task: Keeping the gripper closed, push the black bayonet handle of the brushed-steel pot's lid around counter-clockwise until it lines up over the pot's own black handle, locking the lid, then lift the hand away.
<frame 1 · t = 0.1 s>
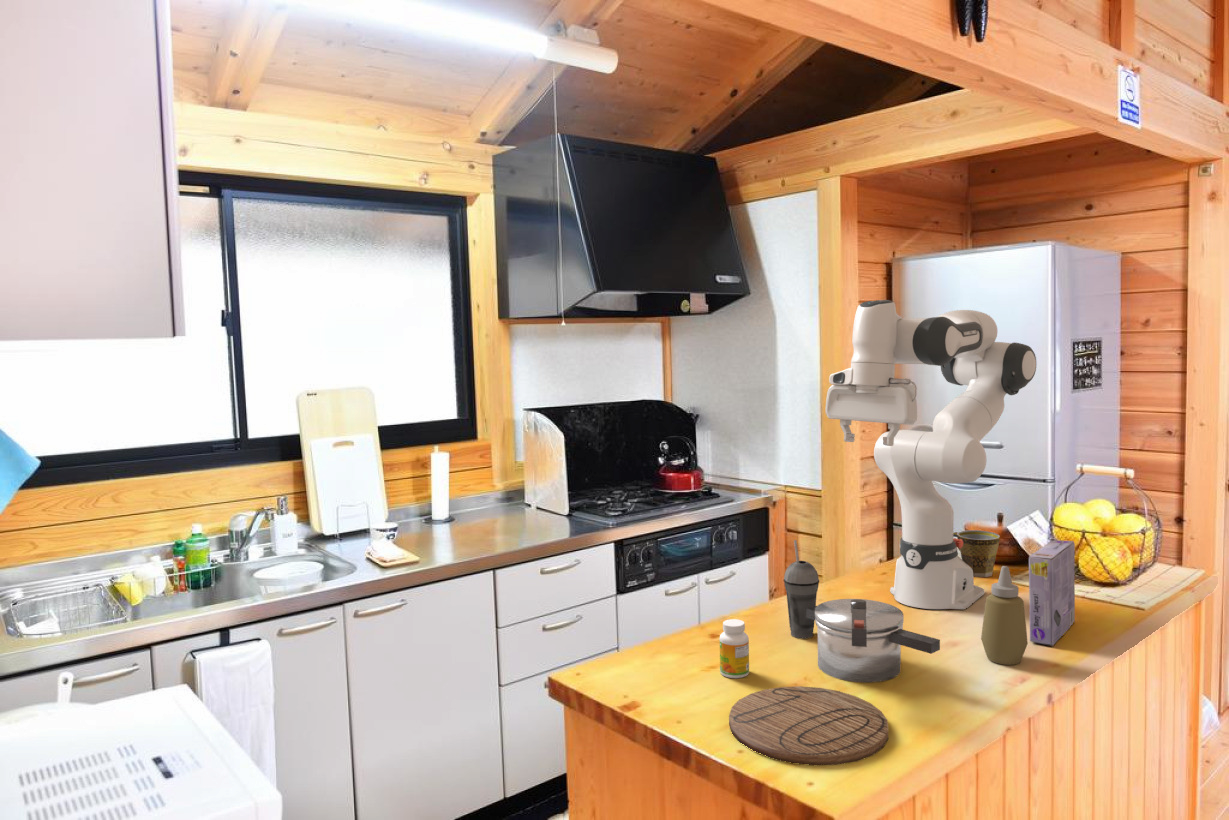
hand: (868, 443, 187), 39 cm above the worktop, tool pointing down, fingers open, 8 cm apart
trivet: (807, 730, 144), on the worktop
pot: (858, 666, 168), on the worktop
beverage cup: (801, 635, 186), on the worktop
ceramic cup: (972, 573, 226), on the worktop
cake pan box: (1052, 632, 183), on the worktop
lid: (858, 614, 162), point 12 cm above the worktop, hinge at -55.0°
supplement bottle: (734, 674, 167), on the worktop
squeeze bottle: (1003, 660, 169), on the worktop
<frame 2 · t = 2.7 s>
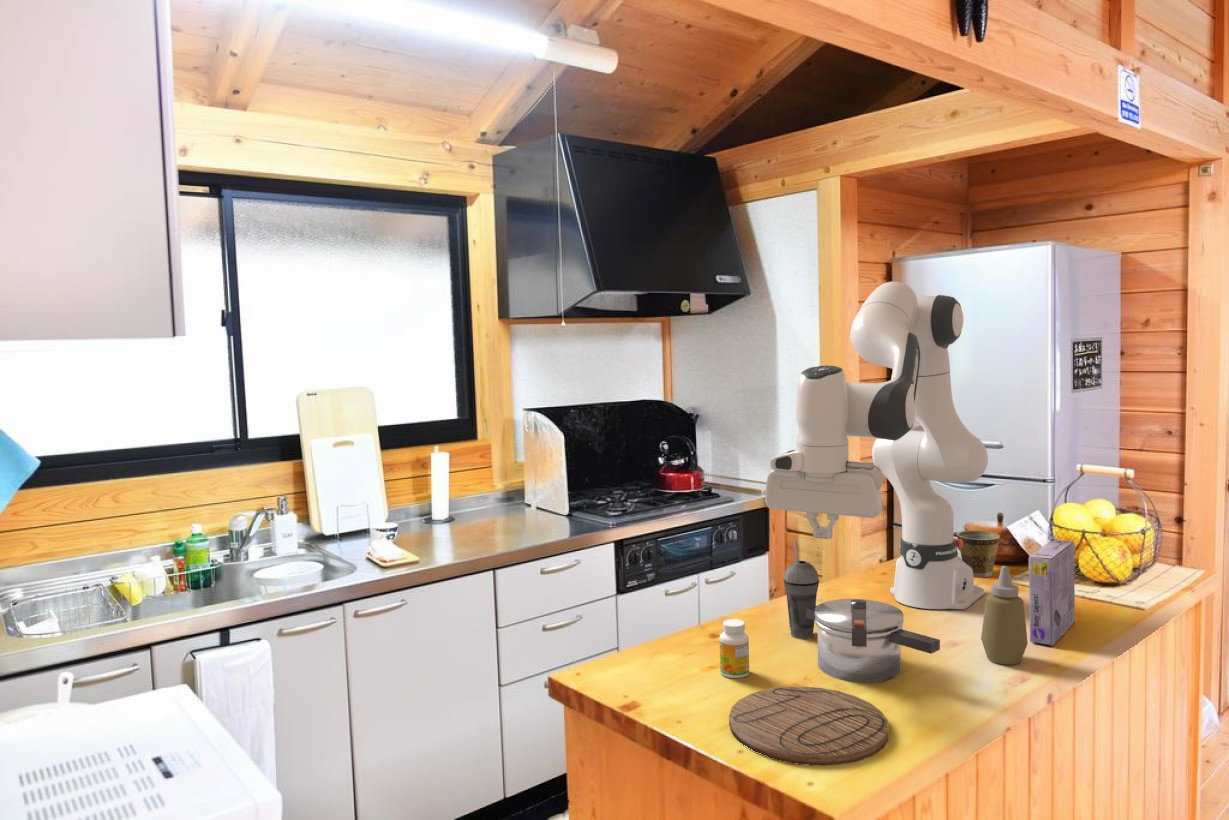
hand: (822, 537, 157), 27 cm above the worktop, tool pointing down, fingers closed
nothing on the worktop moved.
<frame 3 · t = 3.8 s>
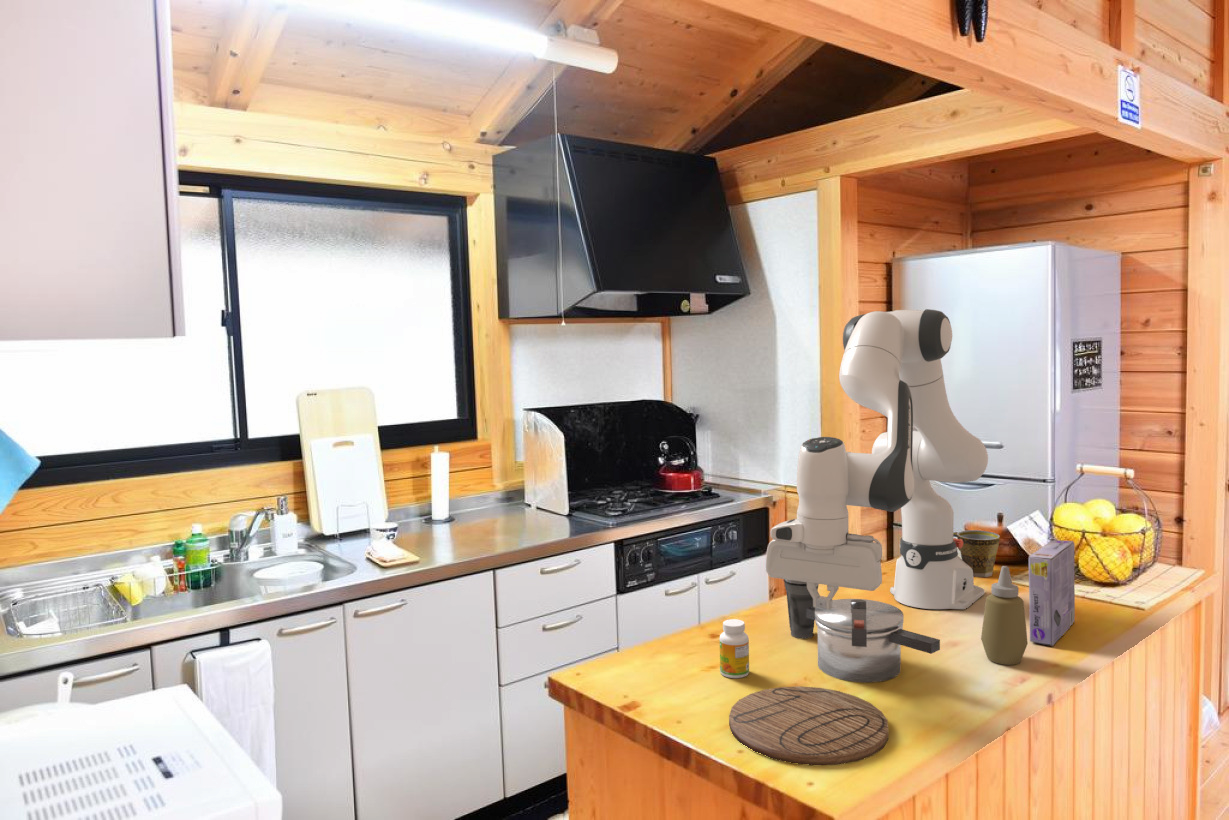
hand: (822, 607, 158), 14 cm above the worktop, tool pointing down, fingers closed
nothing on the worktop moved.
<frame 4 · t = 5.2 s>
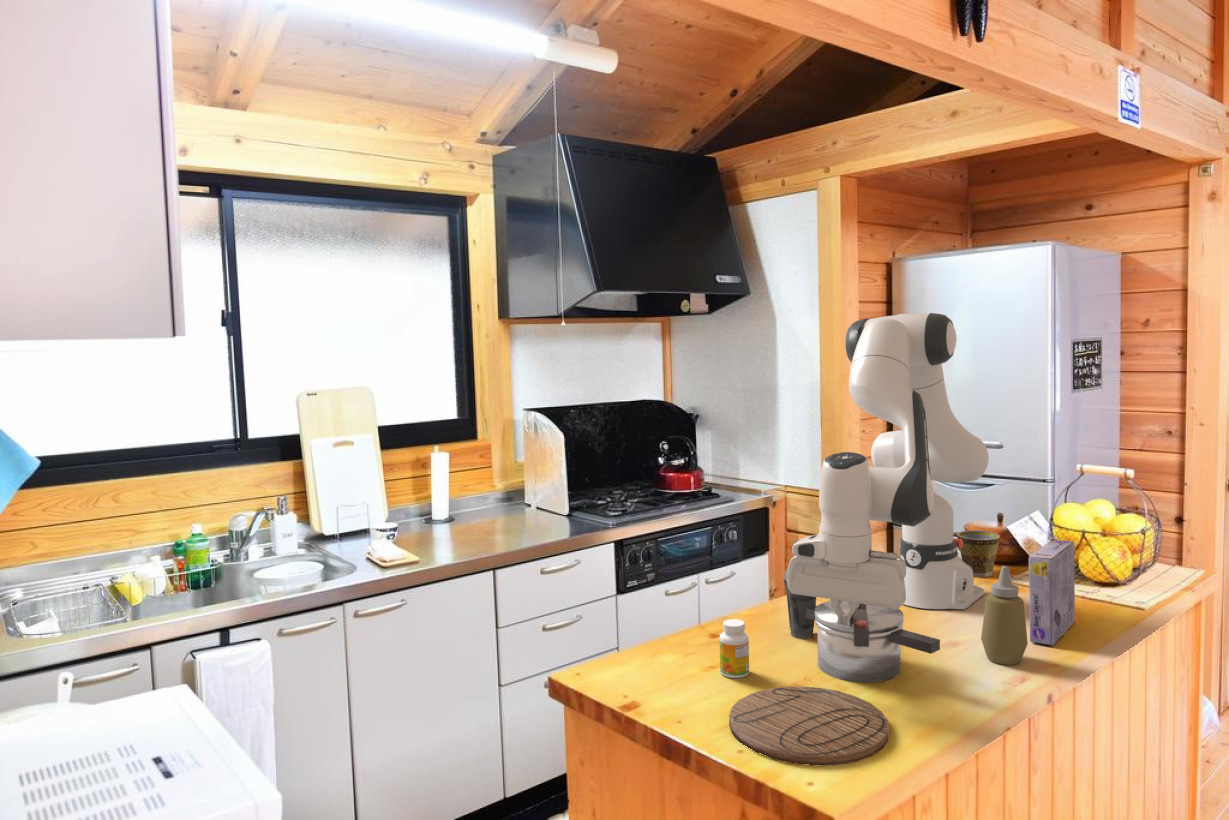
hand: (845, 624, 157), 12 cm above the worktop, tool pointing down, fingers closed
lid: (859, 614, 162), point 12 cm above the worktop, hinge at -53.8°, touching gripper
everything else where it was.
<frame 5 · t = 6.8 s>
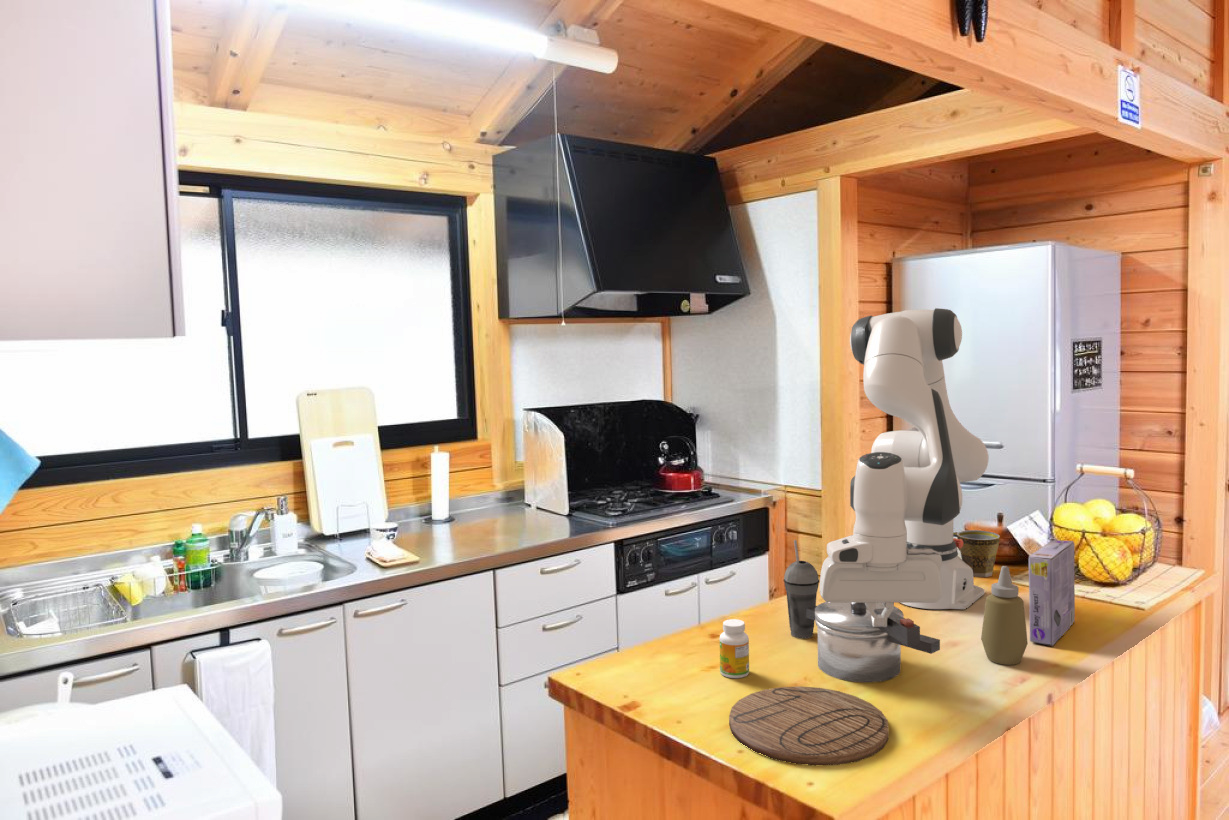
hand: (879, 626, 155), 12 cm above the worktop, tool pointing down, fingers closed
lid: (872, 614, 162), point 12 cm above the worktop, hinge at -25.7°, touching gripper
everything else where it was.
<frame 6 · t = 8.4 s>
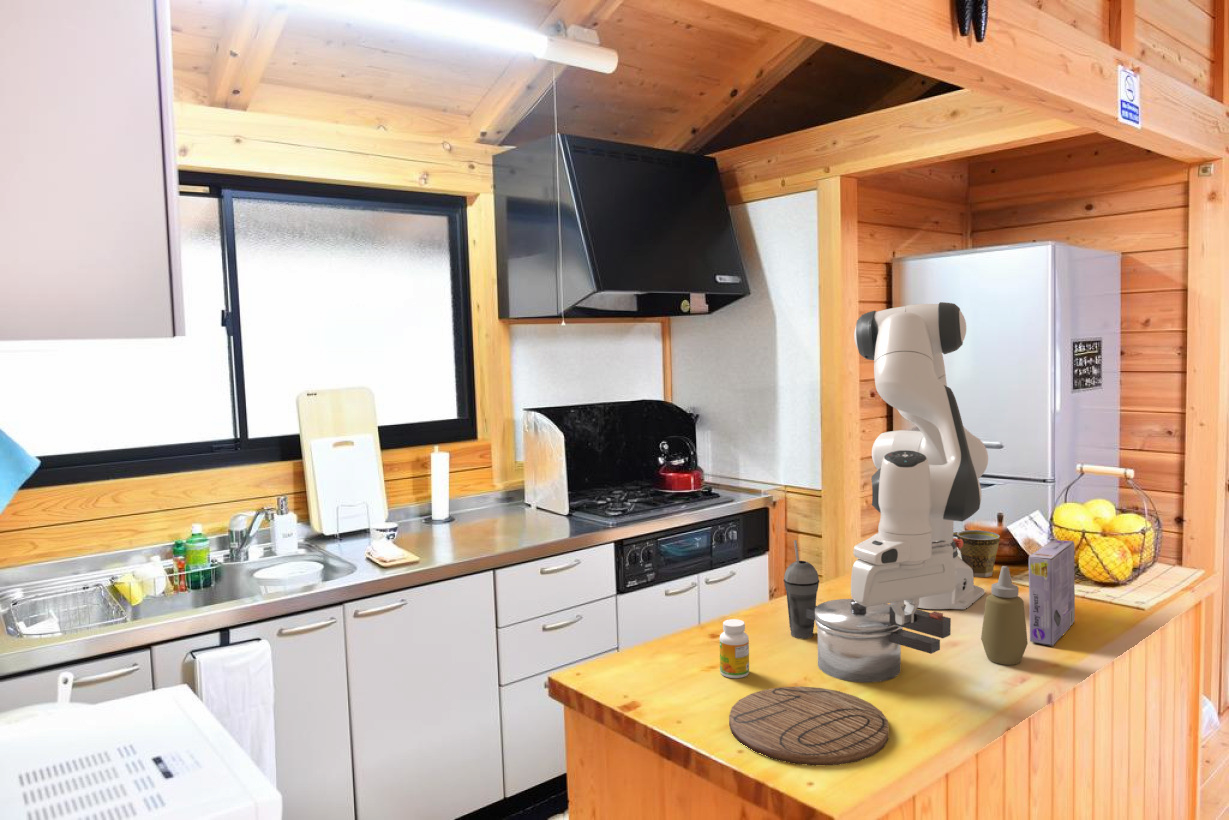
hand: (904, 623, 156), 12 cm above the worktop, tool pointing down, fingers closed
lid: (881, 612, 163), point 12 cm above the worktop, hinge at -1.4°, touching gripper
everything else where it was.
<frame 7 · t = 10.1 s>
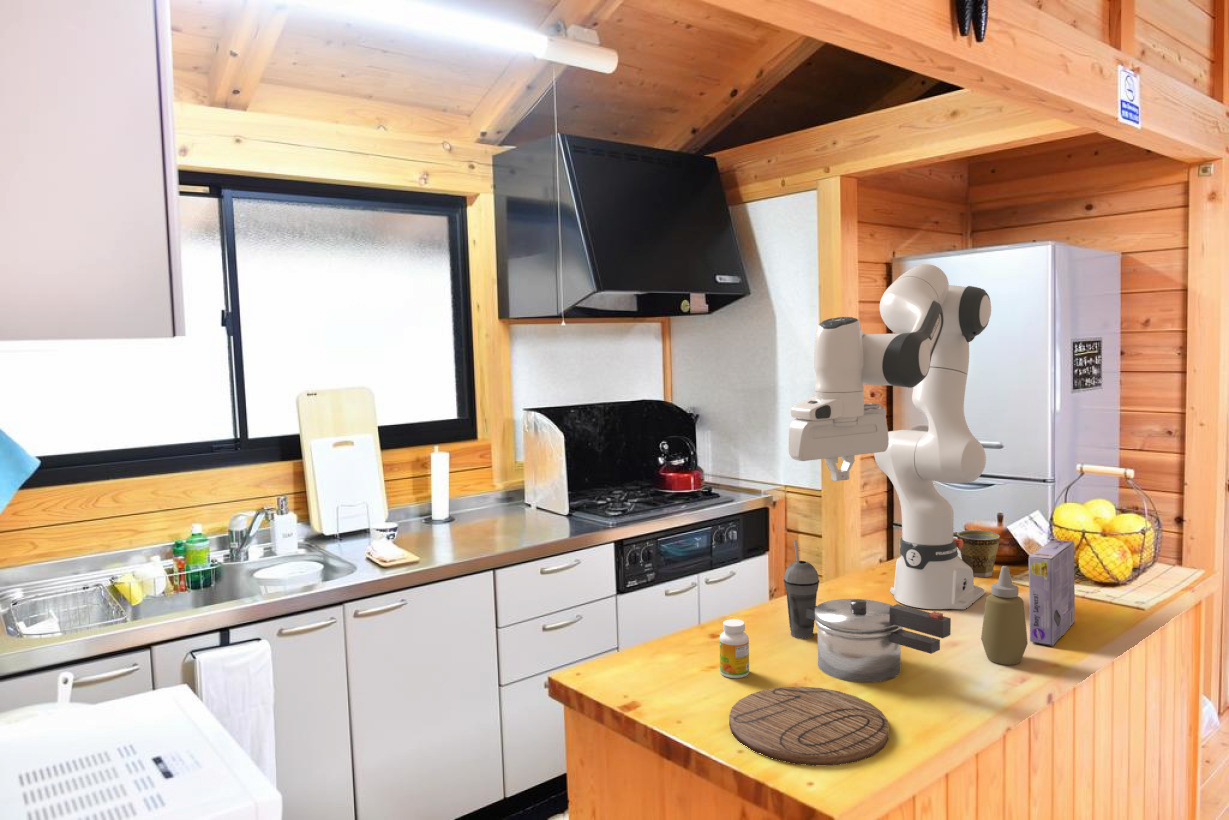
hand: (840, 480, 166), 35 cm above the worktop, tool pointing down, fingers closed
lid: (881, 612, 163), point 12 cm above the worktop, hinge at -1.4°
everything else where it was.
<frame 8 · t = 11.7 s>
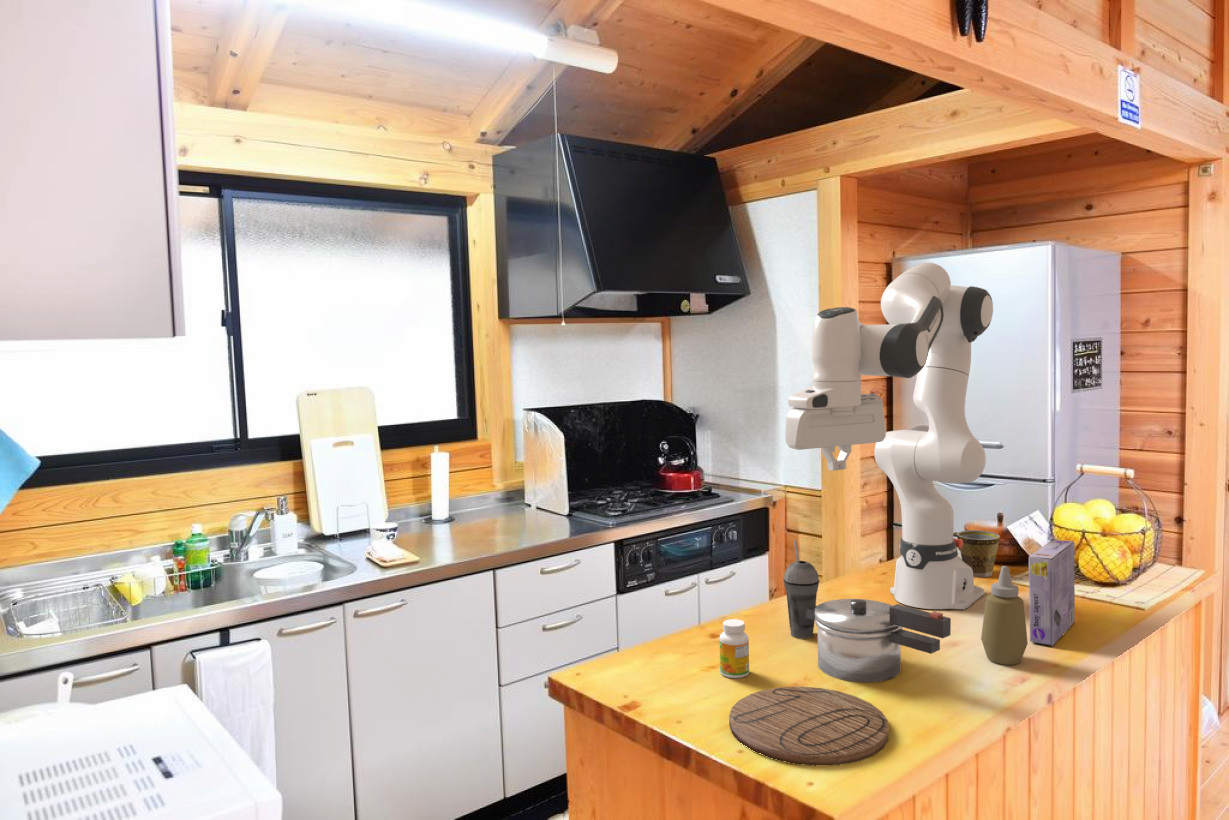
hand: (836, 469, 167), 37 cm above the worktop, tool pointing down, fingers closed
nothing on the worktop moved.
at the end: lid at -1° (first picture: -55°); lid touching nothing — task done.
